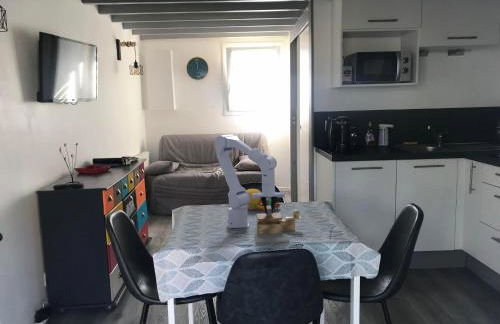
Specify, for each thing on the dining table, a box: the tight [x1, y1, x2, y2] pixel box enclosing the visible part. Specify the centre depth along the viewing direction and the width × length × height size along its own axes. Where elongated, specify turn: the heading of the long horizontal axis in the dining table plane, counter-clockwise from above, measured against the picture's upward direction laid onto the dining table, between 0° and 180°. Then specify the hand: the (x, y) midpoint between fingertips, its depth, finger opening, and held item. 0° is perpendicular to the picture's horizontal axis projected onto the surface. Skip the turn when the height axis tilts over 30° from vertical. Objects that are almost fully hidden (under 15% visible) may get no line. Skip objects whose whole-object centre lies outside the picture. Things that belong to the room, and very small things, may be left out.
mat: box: [254, 232, 291, 245], centre depth 190 cm, size 14×12×1 cm
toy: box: [245, 188, 281, 212], centre depth 243 cm, size 19×11×25 cm
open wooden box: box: [256, 218, 296, 234], centre depth 202 cm, size 17×9×5 cm, turn 92°
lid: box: [255, 206, 283, 222], centre depth 201 cm, size 11×9×6 cm
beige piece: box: [284, 209, 302, 221], centre depth 202 cm, size 7×3×4 cm, turn 92°
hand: (268, 213), depth 201 cm, fingers closed on lid
